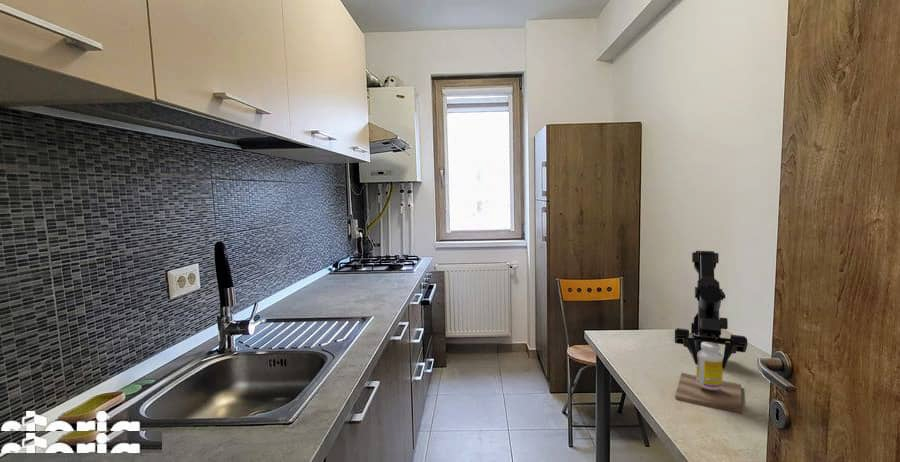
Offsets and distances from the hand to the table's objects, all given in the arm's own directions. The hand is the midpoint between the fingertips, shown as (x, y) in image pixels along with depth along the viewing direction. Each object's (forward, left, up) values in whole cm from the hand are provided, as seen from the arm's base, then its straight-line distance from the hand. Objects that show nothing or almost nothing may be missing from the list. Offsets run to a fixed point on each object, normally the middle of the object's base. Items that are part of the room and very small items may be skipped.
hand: (709, 366), depth 123 cm
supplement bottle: (-1, 0, -7) cm, 7 cm away
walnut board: (-1, 0, -9) cm, 9 cm away
